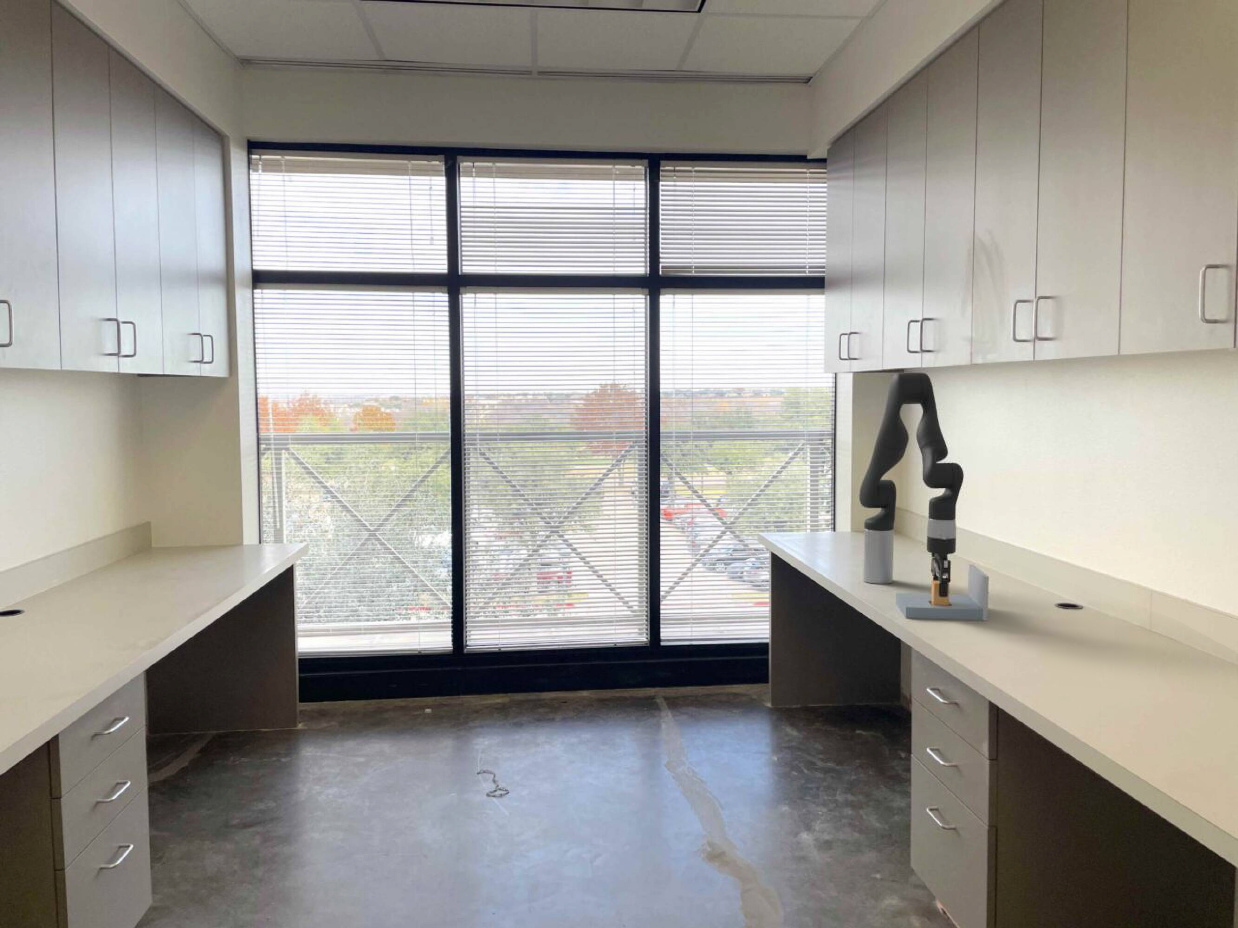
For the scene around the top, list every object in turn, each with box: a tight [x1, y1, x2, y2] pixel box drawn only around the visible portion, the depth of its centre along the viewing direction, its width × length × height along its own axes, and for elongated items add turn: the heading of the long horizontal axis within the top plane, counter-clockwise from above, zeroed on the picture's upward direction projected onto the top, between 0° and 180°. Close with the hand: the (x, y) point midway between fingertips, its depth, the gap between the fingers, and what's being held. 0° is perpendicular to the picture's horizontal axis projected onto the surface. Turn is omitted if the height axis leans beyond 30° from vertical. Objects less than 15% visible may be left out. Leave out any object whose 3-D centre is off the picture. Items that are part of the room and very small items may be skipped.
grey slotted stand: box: [895, 563, 990, 622], centre depth 256 cm, size 18×21×12 cm
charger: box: [930, 579, 950, 606], centre depth 253 cm, size 4×4×9 cm
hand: (940, 593), depth 253 cm, fingers open, 8 cm apart
